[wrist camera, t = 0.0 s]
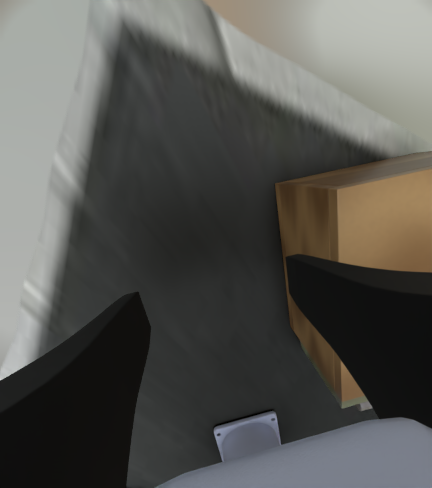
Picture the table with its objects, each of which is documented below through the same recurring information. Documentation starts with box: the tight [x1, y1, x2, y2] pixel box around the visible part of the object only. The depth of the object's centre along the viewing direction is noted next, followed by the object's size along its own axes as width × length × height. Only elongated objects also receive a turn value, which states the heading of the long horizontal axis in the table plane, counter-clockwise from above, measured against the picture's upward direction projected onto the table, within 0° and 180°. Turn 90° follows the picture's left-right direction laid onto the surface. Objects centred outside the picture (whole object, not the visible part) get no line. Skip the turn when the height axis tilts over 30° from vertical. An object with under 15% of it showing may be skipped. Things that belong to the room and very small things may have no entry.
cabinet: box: [275, 151, 432, 402], centre depth 18 cm, size 16×14×9 cm
